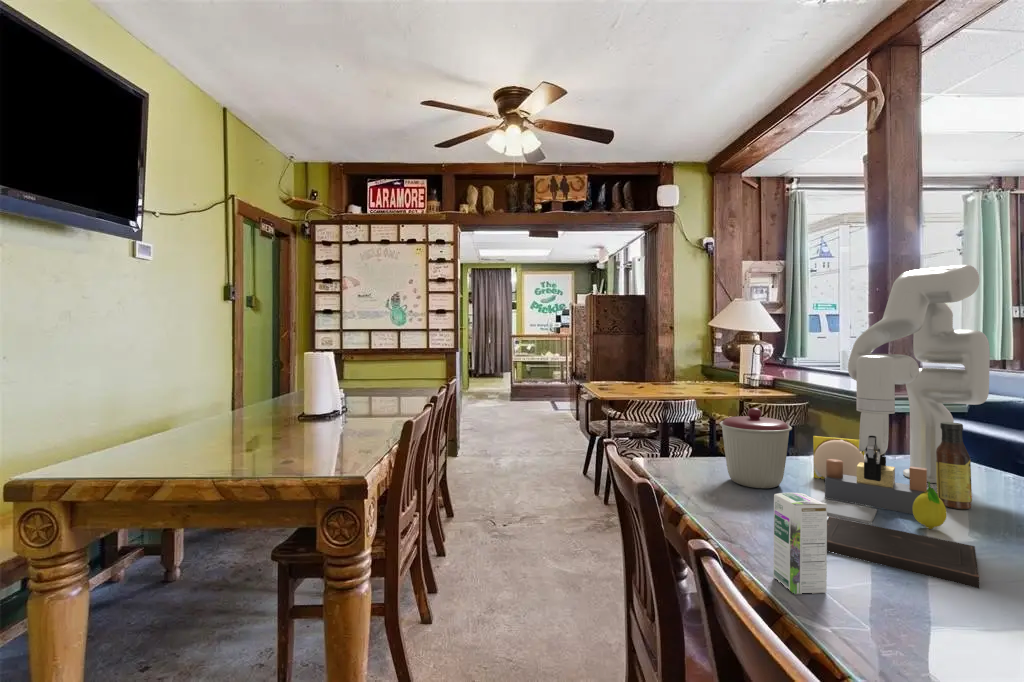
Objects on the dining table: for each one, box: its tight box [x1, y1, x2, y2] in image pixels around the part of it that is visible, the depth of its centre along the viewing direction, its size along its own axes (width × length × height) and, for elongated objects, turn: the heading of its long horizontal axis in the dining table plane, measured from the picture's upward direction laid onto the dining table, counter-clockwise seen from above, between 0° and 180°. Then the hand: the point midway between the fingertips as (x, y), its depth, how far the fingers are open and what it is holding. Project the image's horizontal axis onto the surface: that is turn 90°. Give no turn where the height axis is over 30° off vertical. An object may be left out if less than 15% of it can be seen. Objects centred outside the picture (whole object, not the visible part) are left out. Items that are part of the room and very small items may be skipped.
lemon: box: [912, 482, 948, 530], centre depth 103 cm, size 7×6×10 cm
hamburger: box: [812, 435, 865, 480], centre depth 137 cm, size 12×8×12 cm
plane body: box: [824, 459, 928, 515], centre depth 119 cm, size 7×20×10 cm, turn 47°
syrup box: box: [772, 492, 828, 595], centre depth 80 cm, size 6×6×14 cm
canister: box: [719, 407, 793, 489], centre depth 136 cm, size 18×18×21 cm
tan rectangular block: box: [857, 462, 896, 488], centre depth 119 cm, size 5×7×4 cm
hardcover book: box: [827, 516, 980, 589], centre depth 92 cm, size 16×23×2 cm
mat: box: [823, 499, 878, 525], centre depth 113 cm, size 10×10×1 cm
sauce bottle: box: [936, 422, 973, 510], centre depth 117 cm, size 7×6×20 cm
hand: (875, 475), depth 119 cm, fingers open, 9 cm apart
